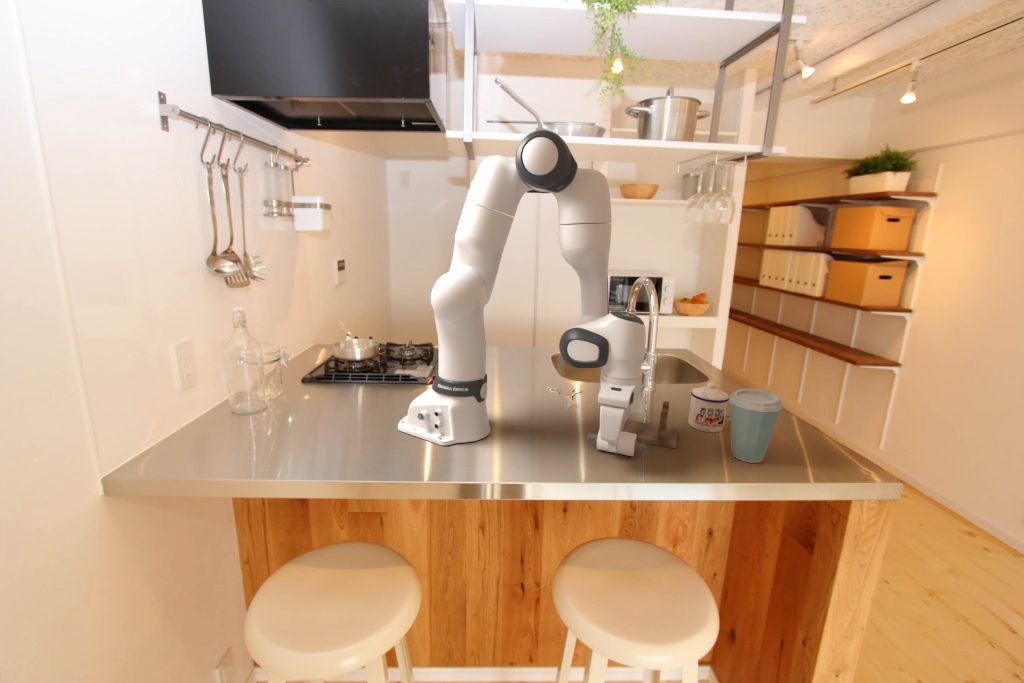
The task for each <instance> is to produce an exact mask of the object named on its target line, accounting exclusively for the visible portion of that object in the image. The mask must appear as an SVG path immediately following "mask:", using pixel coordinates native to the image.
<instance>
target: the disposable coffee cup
mask: <svg viewBox="0 0 1024 683" xmlns="http://www.w3.org/2000/svg"><path fill="white" fill-rule="evenodd" d="M728 401H729V402H730V404H729V405H730V406H729V408H730V411H729V412H730V415H729V416H730V417H731V419H730V447H731V448H730V450H731V453H733V454H732V457H734V458H735V457H736V459H737V460H739V459H740V461H742V462H745V463H751V464H753V463H754V464H755V463H761V462H762V461H763V460H764V459H765V458H766V454H767V451H768V448H769V444H770V441H771V439H772V436H773V433H774V429H775V426H776V425H777V421H778V418H779V416H780V413H781V410H782V411H783V409H782V408H783V407H782V406H783V403H782V402H781V399H780V395H778V394H776V393H774V392H771V391H769V390H765V389H761V388H741V389H737V390H734V391H733V392H732V393H730V394H729V400H728Z"/></svg>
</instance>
